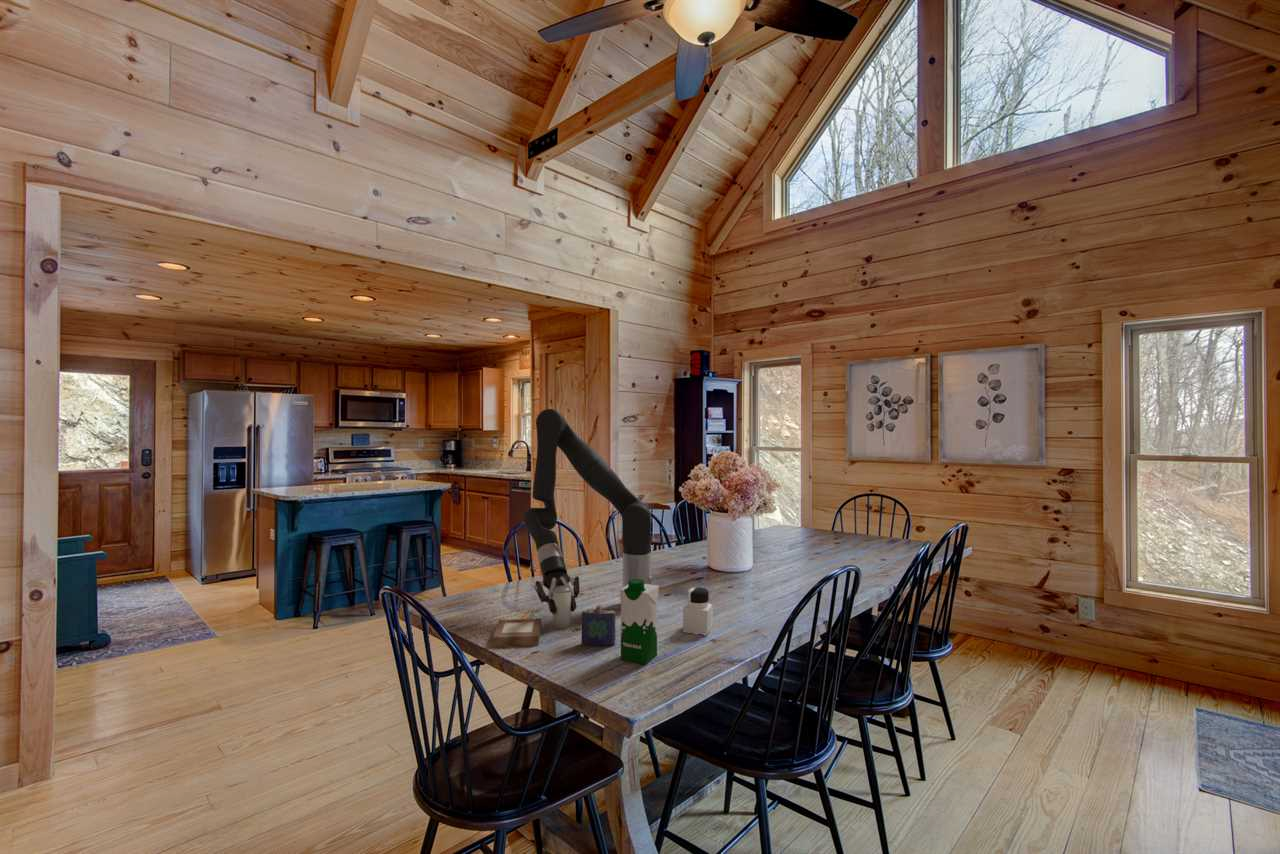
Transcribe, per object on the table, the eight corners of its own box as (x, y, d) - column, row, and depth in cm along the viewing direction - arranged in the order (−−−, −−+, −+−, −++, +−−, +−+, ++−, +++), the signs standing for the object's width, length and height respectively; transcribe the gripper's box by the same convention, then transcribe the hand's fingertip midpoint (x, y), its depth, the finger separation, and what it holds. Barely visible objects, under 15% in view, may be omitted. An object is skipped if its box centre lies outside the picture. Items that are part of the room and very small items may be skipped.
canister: (571, 622, 177) (571, 585, 177) (571, 628, 172) (571, 590, 172) (553, 622, 176) (553, 586, 176) (552, 629, 171) (552, 591, 171)
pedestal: (541, 627, 172) (541, 618, 172) (538, 645, 158) (538, 635, 158) (499, 628, 171) (499, 619, 171) (492, 646, 157) (492, 637, 157)
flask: (615, 643, 161) (616, 603, 160) (615, 647, 158) (615, 607, 157) (582, 642, 161) (582, 603, 161) (580, 646, 158) (580, 606, 158)
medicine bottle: (712, 627, 173) (712, 586, 173) (707, 636, 166) (707, 593, 166) (688, 625, 175) (689, 584, 175) (682, 633, 168) (682, 591, 168)
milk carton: (615, 661, 148) (616, 581, 148) (631, 648, 156) (631, 573, 156) (647, 667, 145) (648, 585, 144) (662, 654, 153) (662, 577, 153)
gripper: (531, 557, 177) (543, 608, 167) (576, 552, 184) (590, 601, 173) (526, 570, 182) (537, 621, 172) (570, 566, 189) (584, 614, 178)
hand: (564, 611), depth 172 cm, fingers closed on canister, 5 cm apart
